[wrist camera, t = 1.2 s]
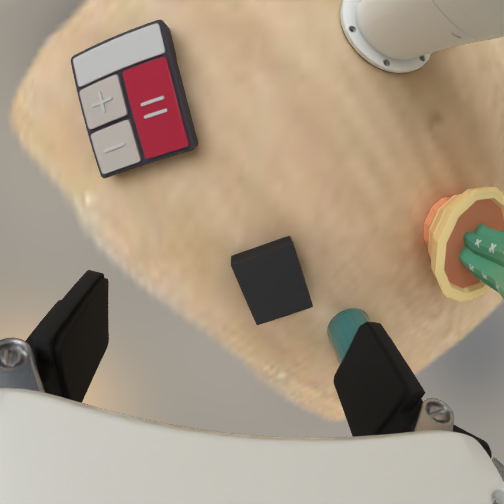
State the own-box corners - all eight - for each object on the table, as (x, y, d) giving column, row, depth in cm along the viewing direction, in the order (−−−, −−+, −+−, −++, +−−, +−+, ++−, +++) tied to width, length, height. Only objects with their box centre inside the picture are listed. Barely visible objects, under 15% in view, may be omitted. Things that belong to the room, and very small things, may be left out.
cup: (366, 302, 41) (390, 341, 33) (371, 335, 44) (393, 374, 36) (323, 318, 42) (340, 360, 34) (331, 349, 44) (347, 392, 36)
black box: (289, 235, 37) (293, 243, 35) (308, 296, 40) (312, 306, 38) (231, 255, 38) (230, 265, 35) (255, 313, 41) (256, 325, 39)
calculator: (99, 181, 30) (66, 56, 23) (112, 173, 34) (83, 60, 27) (195, 150, 29) (160, 16, 23) (199, 145, 33) (169, 26, 27)
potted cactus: (475, 158, 34) (618, 212, 11) (486, 250, 39) (592, 333, 16) (391, 196, 36) (543, 294, 13) (413, 292, 41) (510, 413, 18)
